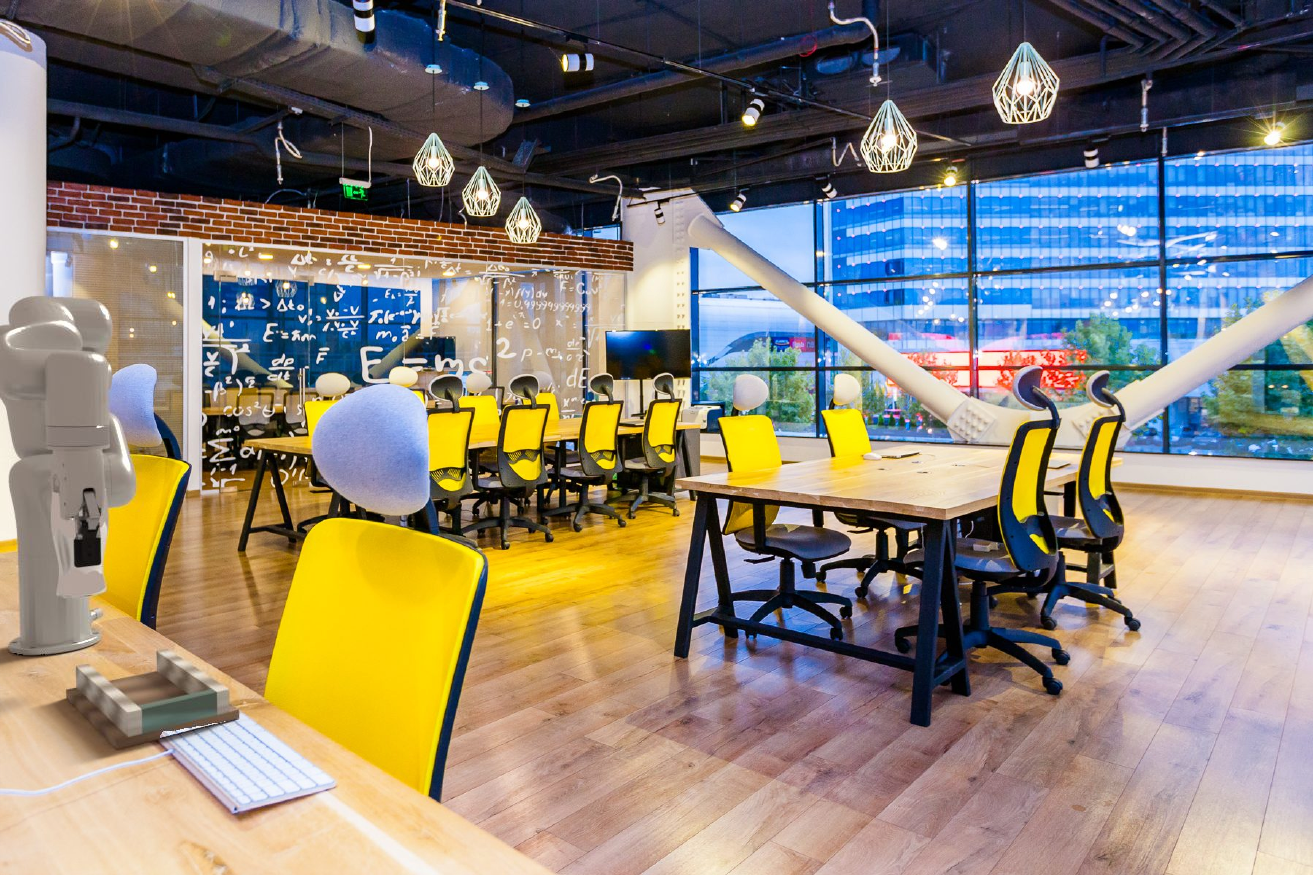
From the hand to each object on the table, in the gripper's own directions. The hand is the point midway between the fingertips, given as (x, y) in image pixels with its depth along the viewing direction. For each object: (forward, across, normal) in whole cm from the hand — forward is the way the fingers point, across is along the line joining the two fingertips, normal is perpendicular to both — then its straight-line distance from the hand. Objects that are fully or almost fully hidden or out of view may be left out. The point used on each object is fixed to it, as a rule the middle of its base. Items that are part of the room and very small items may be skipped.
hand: (81, 560), depth 125 cm
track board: (+17, +18, +4) cm, 26 cm away
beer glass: (+5, 0, 0) cm, 5 cm away
